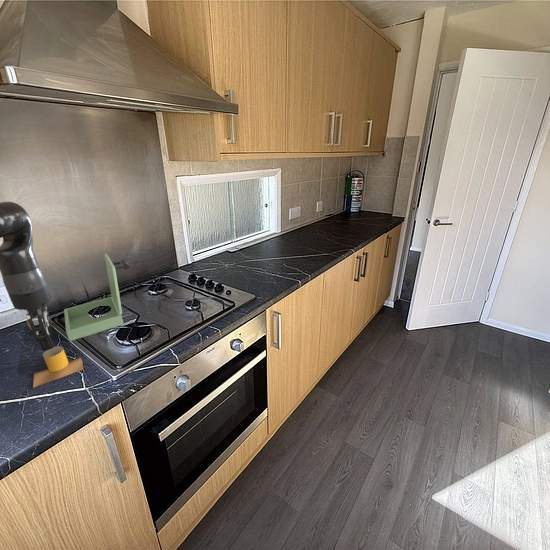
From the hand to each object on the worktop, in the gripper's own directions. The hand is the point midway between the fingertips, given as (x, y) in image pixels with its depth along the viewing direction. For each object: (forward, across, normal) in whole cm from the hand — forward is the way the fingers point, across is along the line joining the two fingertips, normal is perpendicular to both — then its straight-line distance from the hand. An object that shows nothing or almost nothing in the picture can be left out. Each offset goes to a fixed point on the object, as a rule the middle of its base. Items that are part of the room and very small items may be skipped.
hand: (48, 341), depth 78 cm
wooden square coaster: (+9, 0, 0) cm, 9 cm away
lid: (-4, -20, +19) cm, 28 cm away
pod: (+8, 0, 0) cm, 8 cm away
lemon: (+9, -25, -4) cm, 27 cm away
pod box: (+9, -20, +11) cm, 24 cm away
